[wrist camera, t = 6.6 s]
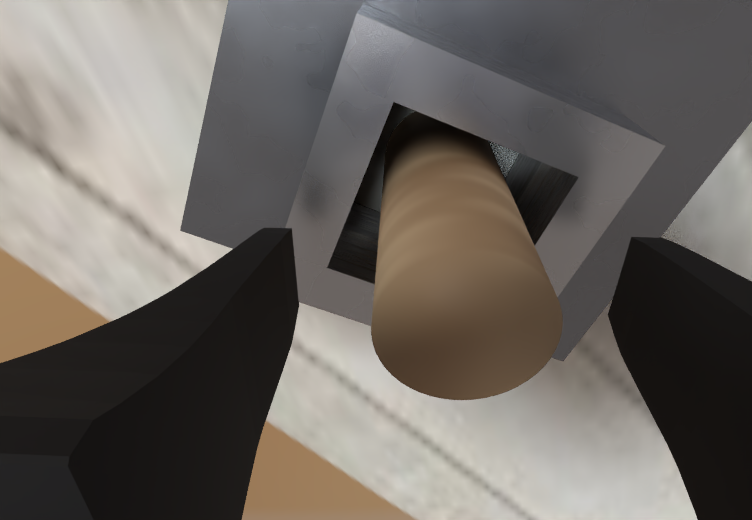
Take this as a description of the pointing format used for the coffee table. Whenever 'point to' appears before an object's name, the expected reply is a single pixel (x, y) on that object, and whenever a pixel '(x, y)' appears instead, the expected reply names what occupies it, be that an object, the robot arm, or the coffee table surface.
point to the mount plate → (470, 125)
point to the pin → (456, 270)
